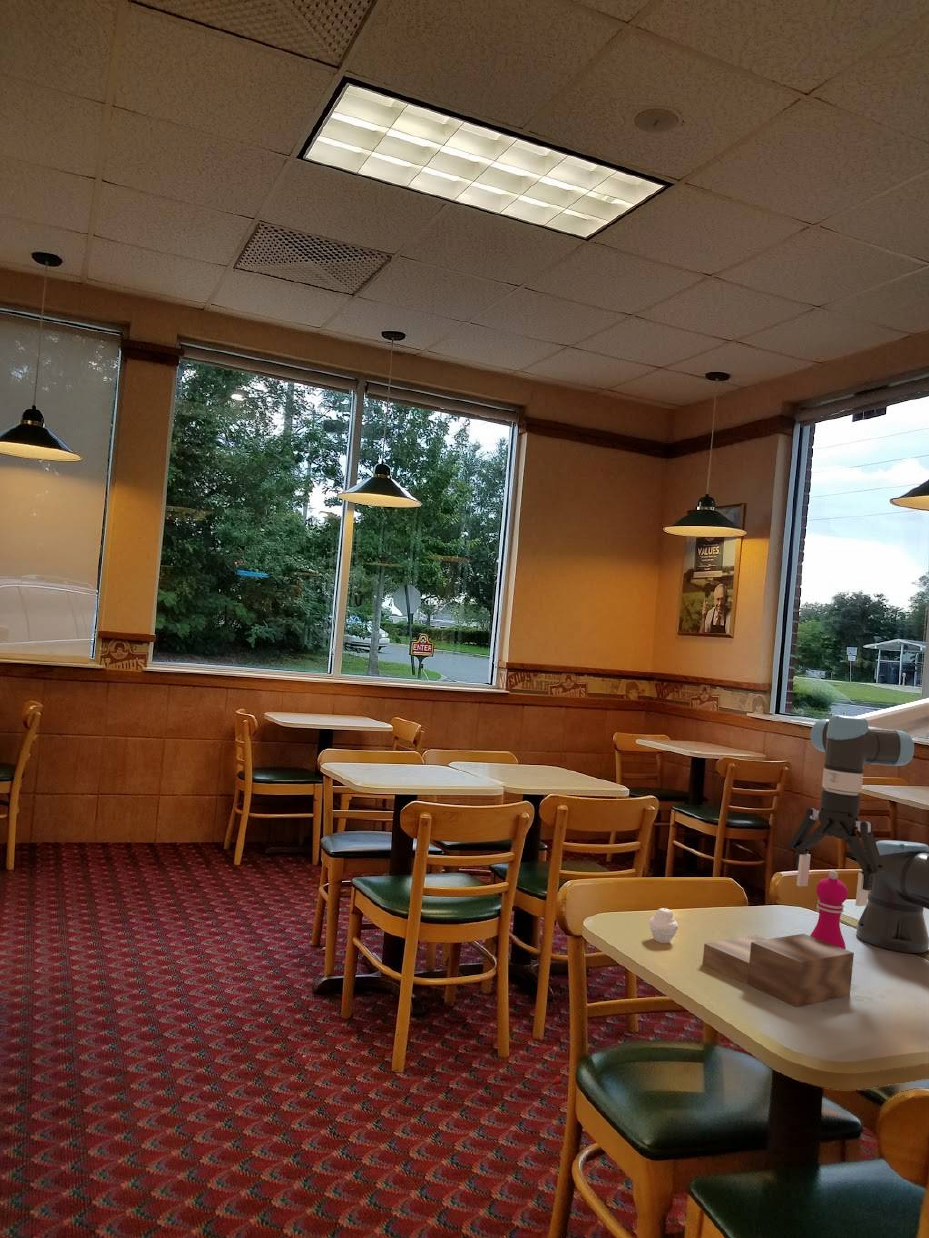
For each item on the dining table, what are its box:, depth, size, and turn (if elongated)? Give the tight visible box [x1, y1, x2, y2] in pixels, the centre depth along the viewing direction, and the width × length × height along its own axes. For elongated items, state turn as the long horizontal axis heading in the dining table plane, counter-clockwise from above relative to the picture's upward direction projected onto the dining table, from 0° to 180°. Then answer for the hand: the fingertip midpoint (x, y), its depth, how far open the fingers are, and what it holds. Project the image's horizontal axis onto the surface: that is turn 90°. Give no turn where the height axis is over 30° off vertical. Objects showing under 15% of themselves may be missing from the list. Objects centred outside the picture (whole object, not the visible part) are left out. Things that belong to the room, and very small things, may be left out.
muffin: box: [648, 907, 679, 944], centre depth 195 cm, size 6×6×7 cm
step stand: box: [702, 933, 855, 1008], centre depth 178 cm, size 16×22×8 cm
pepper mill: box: [809, 870, 849, 950], centre depth 187 cm, size 7×7×20 cm
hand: (830, 895), depth 187 cm, fingers open, 13 cm apart
